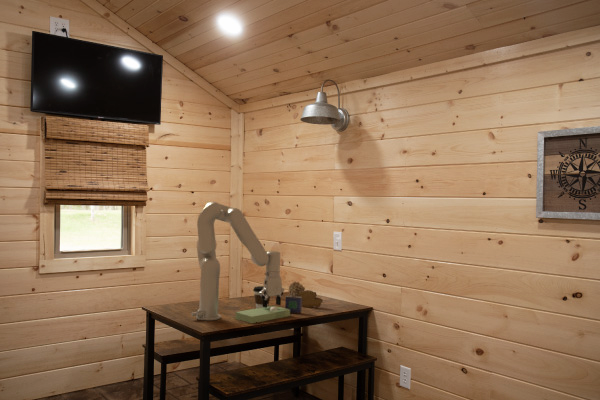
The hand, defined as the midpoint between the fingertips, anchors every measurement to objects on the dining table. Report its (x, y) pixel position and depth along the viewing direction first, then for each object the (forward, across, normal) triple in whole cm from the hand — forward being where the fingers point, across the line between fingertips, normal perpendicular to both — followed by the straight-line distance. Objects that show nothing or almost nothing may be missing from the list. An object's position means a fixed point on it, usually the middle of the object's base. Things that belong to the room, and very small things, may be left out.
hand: (271, 306), depth 270 cm
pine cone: (+6, +48, +25) cm, 54 cm away
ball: (+3, +2, 0) cm, 3 cm away
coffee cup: (+5, +8, +16) cm, 19 cm away
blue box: (+6, +15, -2) cm, 16 cm away
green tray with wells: (+5, -6, 0) cm, 8 cm away
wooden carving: (+6, +33, +3) cm, 33 cm away
